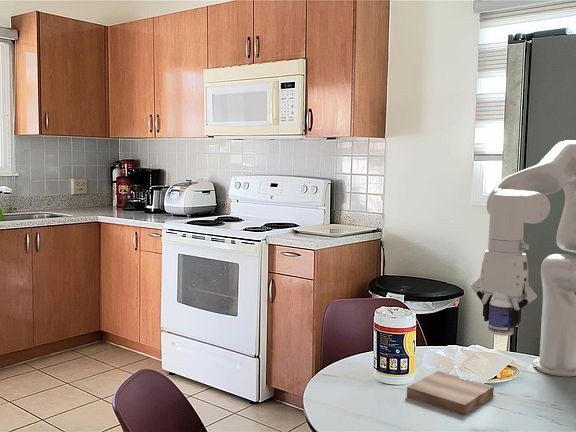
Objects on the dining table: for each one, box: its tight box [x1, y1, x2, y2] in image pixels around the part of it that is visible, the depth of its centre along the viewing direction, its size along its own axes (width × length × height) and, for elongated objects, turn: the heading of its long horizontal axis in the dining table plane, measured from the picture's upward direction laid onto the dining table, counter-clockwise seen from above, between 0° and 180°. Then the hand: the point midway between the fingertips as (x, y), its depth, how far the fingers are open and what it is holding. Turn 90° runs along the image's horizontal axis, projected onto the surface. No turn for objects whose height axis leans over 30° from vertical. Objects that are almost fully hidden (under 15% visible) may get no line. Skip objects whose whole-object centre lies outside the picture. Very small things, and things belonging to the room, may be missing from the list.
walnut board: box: [406, 370, 495, 416], centre depth 152 cm, size 15×15×2 cm
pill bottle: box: [487, 292, 515, 337], centre depth 147 cm, size 6×6×10 cm
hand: (501, 322), depth 147 cm, fingers closed on pill bottle, 5 cm apart
